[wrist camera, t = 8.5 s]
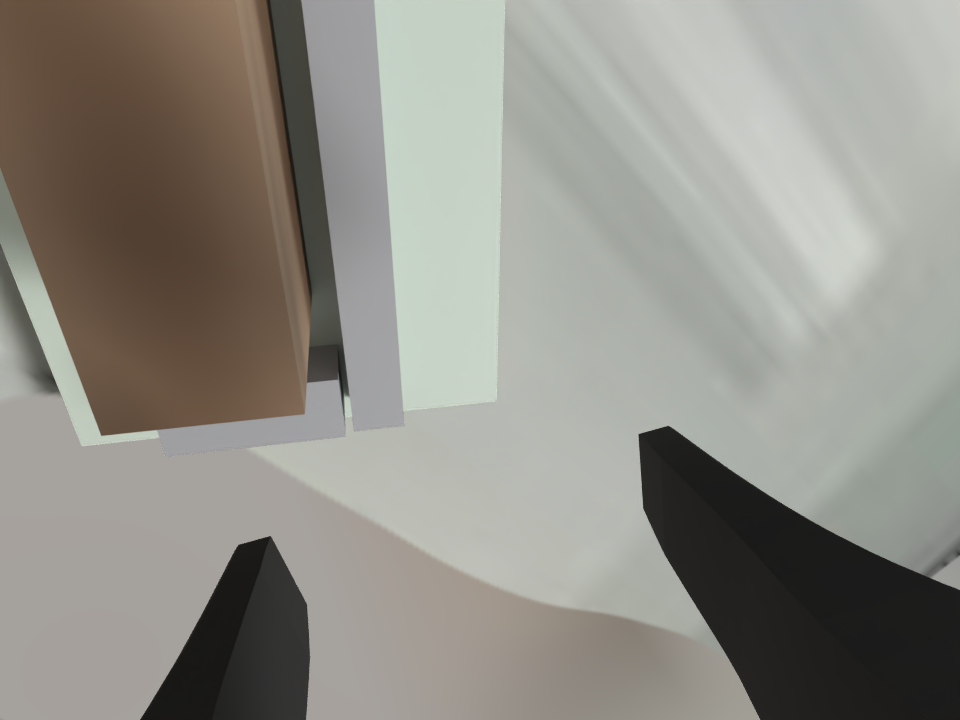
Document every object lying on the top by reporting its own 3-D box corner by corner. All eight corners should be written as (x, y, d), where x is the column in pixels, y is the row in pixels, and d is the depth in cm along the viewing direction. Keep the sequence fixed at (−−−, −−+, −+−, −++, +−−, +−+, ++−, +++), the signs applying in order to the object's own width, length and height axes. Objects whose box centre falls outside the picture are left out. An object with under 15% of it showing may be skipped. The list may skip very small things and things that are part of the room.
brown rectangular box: (257, -84, 14) (216, -108, 9) (312, 293, 19) (304, 414, 14) (56, -86, 13) (-109, -116, 8) (164, 304, 18) (100, 436, 13)
